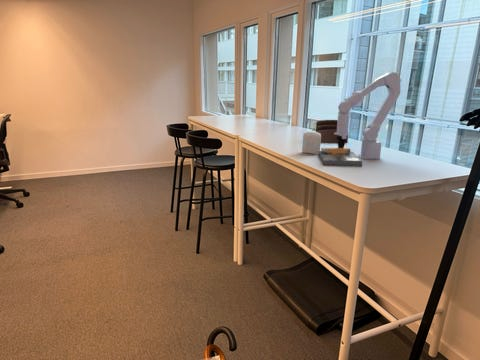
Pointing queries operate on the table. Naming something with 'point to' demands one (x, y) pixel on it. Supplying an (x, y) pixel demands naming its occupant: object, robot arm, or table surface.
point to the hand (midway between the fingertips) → (340, 150)
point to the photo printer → (311, 142)
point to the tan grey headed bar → (335, 150)
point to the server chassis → (340, 159)
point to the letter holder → (328, 131)
